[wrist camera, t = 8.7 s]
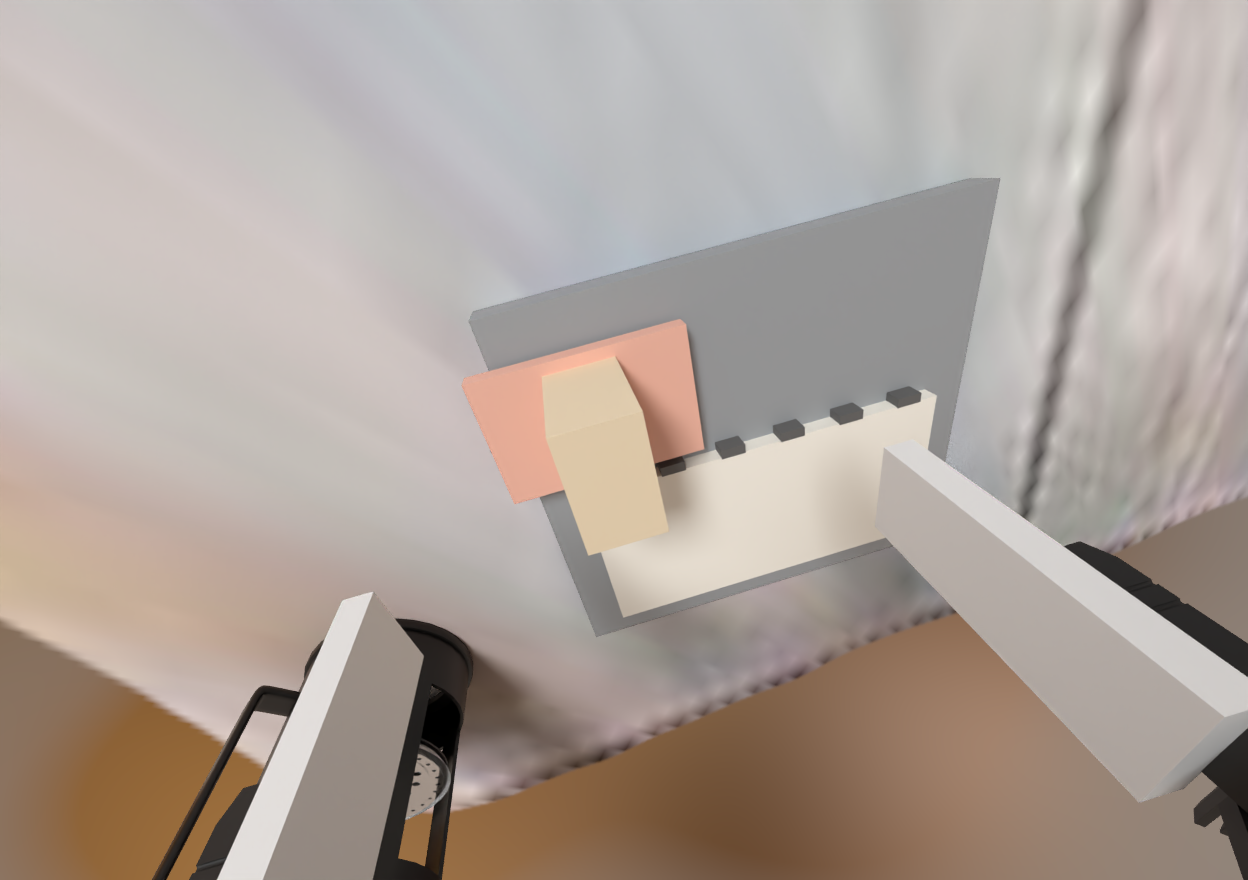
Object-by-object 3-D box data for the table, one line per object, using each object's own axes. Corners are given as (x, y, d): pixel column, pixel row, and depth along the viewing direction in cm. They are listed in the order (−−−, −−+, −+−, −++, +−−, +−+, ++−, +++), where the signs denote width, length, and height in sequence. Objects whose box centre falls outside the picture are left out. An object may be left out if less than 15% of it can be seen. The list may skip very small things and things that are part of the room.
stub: (680, 318, 18) (736, 369, 13) (698, 440, 21) (749, 518, 17) (464, 378, 18) (439, 452, 13) (515, 493, 21) (510, 589, 16)
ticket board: (969, 178, 20) (1019, 178, 18) (913, 519, 30) (941, 543, 28) (472, 311, 18) (466, 327, 16) (593, 616, 29) (598, 649, 27)
